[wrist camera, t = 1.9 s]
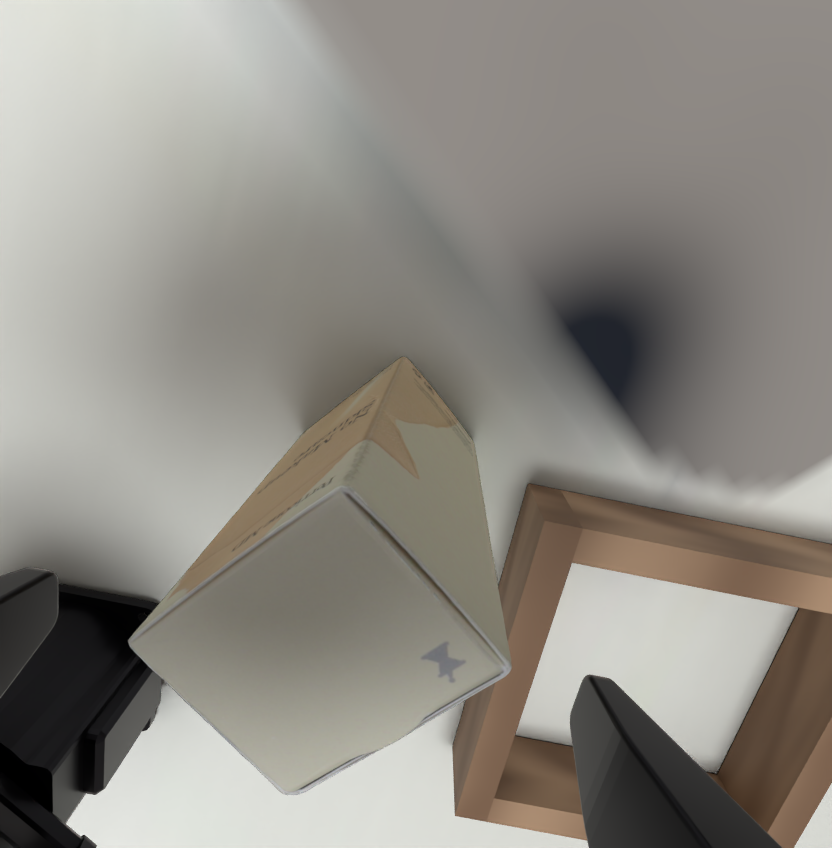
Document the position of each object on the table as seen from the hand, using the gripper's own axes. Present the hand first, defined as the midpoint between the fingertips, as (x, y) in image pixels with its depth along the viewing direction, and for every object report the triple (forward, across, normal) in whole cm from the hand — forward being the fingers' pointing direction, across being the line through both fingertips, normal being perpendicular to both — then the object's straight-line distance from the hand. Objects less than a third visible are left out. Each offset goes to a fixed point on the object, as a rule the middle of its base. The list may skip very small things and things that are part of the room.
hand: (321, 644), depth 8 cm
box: (+11, 0, 0) cm, 11 cm away
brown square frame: (+10, -12, +7) cm, 17 cm away
